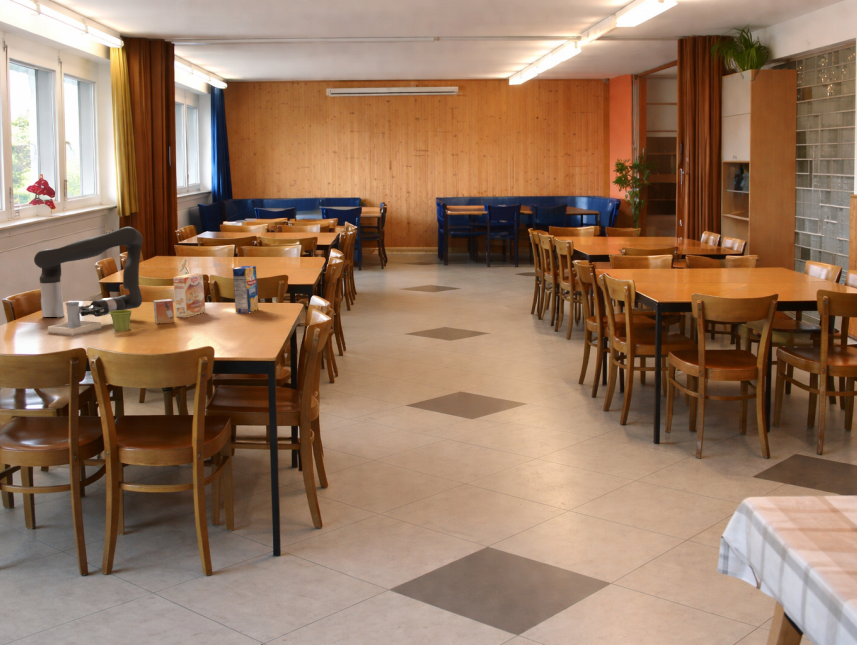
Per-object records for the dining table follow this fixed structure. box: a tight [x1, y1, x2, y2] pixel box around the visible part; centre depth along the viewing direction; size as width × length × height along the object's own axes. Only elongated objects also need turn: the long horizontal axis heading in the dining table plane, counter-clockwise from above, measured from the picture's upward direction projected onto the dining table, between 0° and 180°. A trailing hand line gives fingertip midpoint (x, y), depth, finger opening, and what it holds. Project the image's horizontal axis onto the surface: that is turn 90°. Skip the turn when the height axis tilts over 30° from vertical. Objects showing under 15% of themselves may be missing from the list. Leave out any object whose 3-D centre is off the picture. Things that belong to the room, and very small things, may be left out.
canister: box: [65, 301, 81, 328], centre depth 359 cm, size 5×5×12 cm
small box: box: [153, 298, 175, 325], centre depth 378 cm, size 8×6×10 cm
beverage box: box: [232, 265, 259, 314], centre depth 401 cm, size 7×11×22 cm, turn 165°
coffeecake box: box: [172, 273, 206, 318], centre depth 395 cm, size 15×7×20 cm, turn 160°
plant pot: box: [109, 309, 133, 332], centre depth 360 cm, size 9×9×9 cm
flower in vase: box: [177, 258, 190, 275], centre depth 421 cm, size 13×11×25 cm
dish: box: [47, 320, 102, 337], centre depth 359 cm, size 15×15×3 cm
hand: (74, 313), depth 359 cm, fingers open, 8 cm apart
